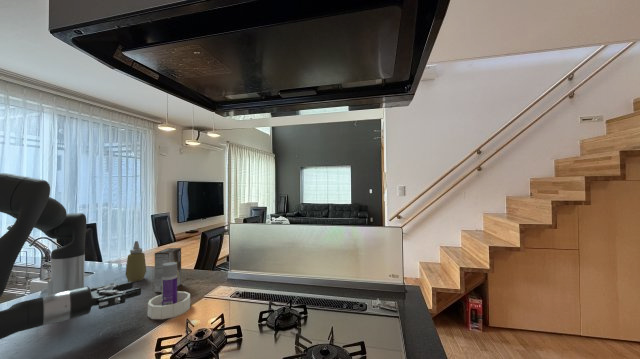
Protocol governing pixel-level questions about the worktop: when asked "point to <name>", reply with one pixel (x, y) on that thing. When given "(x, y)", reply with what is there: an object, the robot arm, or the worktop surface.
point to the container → (169, 283)
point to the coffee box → (166, 257)
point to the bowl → (168, 306)
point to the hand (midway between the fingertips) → (136, 287)
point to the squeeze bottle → (135, 264)
